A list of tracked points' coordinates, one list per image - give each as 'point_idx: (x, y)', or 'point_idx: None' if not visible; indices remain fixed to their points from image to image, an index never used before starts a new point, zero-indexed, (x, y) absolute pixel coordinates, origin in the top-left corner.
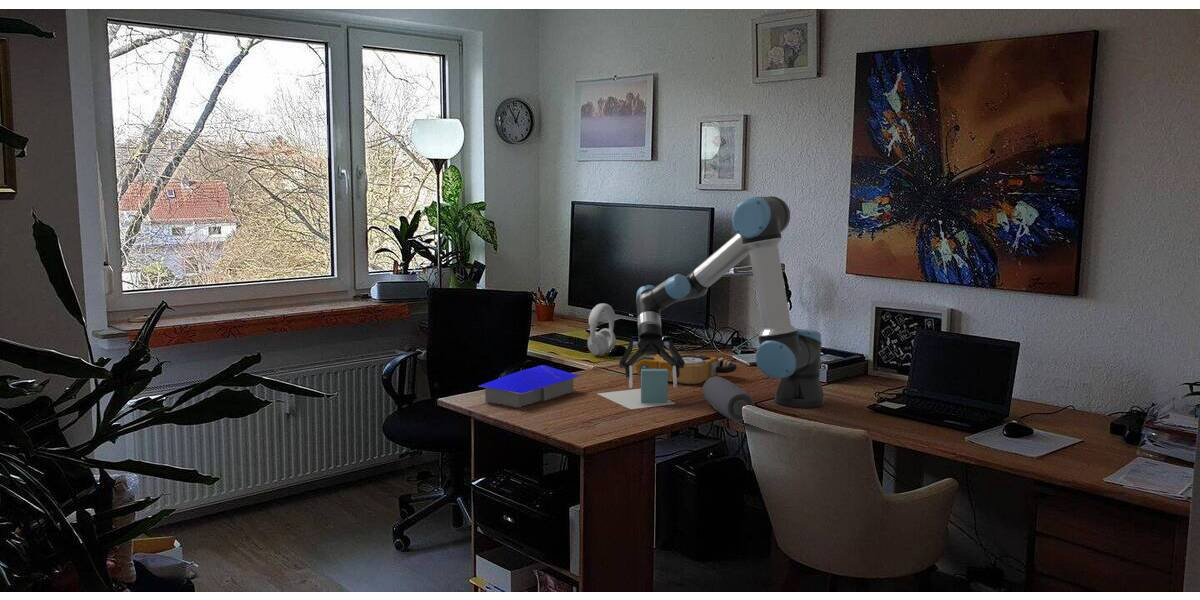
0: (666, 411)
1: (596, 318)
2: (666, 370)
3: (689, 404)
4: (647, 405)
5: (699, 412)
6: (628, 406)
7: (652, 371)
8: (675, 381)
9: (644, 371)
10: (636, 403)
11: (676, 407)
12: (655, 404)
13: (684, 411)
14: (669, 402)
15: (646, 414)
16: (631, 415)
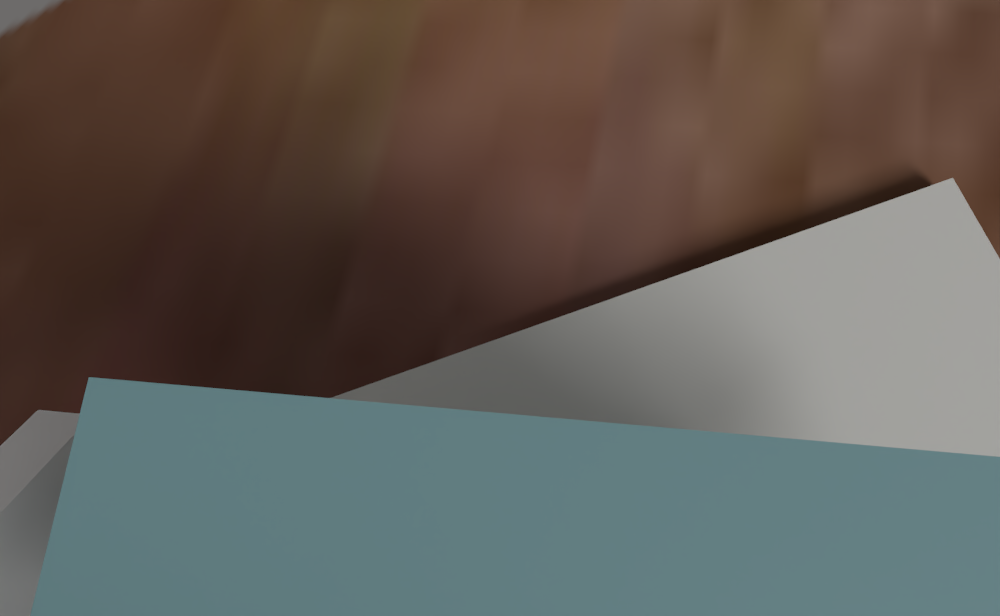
0: (455, 148)
1: None
2: (117, 455)
3: None
4: (685, 360)
5: (63, 77)
6: (984, 329)
7: (646, 429)
8: (35, 449)
9: (950, 457)
10: None
11: (265, 337)
12: (553, 408)
13: (227, 133)
14: None
15: (737, 33)
16: (934, 3)
